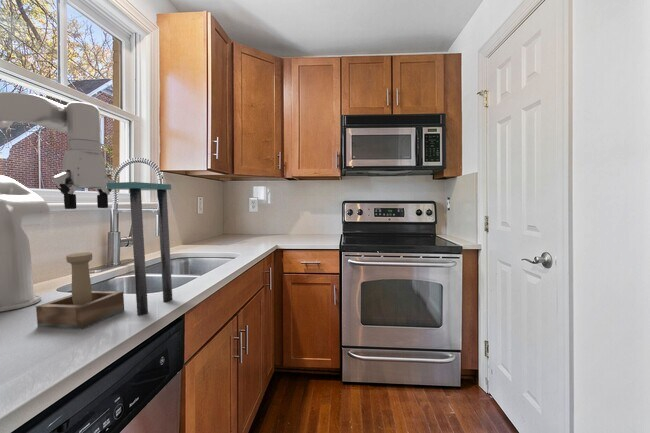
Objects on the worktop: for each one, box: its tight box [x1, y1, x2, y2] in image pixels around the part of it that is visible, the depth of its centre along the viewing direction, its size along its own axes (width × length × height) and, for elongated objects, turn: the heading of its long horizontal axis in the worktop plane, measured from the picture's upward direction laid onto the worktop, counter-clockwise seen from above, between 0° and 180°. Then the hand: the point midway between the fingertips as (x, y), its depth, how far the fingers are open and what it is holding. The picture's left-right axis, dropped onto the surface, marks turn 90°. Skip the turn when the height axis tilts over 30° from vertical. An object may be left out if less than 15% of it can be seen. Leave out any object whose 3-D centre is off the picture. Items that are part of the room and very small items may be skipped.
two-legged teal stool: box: [107, 181, 173, 316], centre depth 83 cm, size 8×14×34 cm, turn 172°
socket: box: [35, 290, 125, 330], centre depth 76 cm, size 12×12×5 cm
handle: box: [65, 251, 93, 305], centre depth 76 cm, size 5×6×15 cm
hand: (87, 208), depth 88 cm, fingers open, 9 cm apart
